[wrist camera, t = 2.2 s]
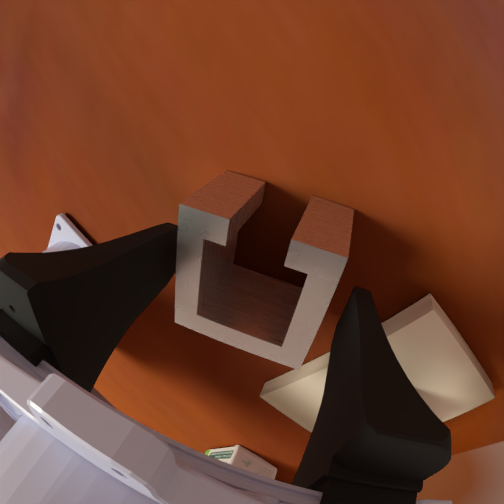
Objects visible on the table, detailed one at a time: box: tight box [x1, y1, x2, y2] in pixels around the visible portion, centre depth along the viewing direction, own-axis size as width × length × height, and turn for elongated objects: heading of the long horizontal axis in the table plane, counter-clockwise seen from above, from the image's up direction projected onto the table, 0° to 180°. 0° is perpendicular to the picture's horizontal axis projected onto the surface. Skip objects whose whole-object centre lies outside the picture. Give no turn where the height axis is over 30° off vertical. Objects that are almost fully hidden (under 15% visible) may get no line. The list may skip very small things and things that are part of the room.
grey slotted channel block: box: [175, 171, 354, 370], centre depth 13 cm, size 6×6×4 cm
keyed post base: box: [260, 294, 495, 433], centre depth 15 cm, size 12×9×5 cm
